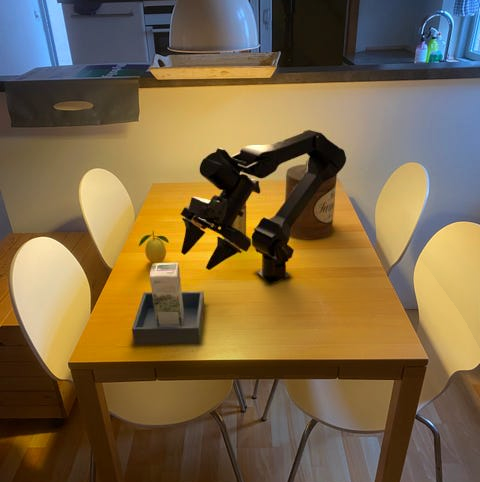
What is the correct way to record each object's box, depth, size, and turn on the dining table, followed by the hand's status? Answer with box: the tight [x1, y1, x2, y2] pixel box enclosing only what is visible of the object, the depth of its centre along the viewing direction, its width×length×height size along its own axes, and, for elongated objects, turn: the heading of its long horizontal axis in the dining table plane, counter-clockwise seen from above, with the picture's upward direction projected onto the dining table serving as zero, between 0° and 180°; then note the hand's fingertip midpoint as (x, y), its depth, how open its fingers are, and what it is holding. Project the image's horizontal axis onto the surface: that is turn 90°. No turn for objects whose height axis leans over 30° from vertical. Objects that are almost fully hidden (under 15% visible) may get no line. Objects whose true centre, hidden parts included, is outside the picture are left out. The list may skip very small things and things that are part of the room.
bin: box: [131, 291, 205, 346], centre depth 105 cm, size 14×14×4 cm
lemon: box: [138, 230, 170, 263], centre depth 127 cm, size 7×6×10 cm
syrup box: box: [149, 262, 184, 327], centre depth 102 cm, size 6×6×14 cm
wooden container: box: [284, 159, 338, 240], centre depth 140 cm, size 15×15×22 cm
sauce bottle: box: [231, 172, 247, 236], centre depth 136 cm, size 7×6×20 cm
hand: (194, 261), depth 103 cm, fingers open, 9 cm apart
